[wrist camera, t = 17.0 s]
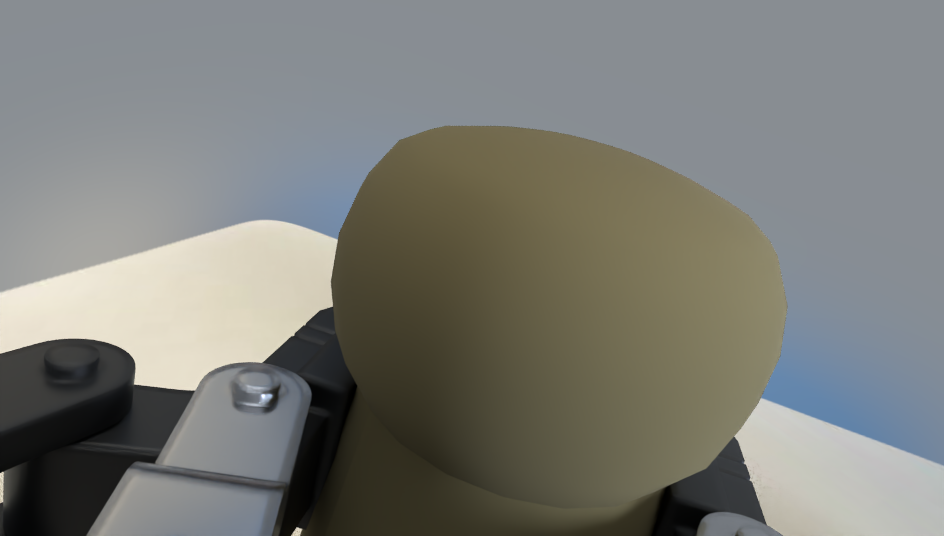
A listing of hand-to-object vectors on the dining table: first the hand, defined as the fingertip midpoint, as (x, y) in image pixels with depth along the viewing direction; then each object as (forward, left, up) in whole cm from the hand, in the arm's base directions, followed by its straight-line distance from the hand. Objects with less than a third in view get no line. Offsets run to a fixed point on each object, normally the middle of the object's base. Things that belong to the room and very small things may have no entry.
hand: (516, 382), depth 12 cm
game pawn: (-1, -3, -7) cm, 7 cm away
